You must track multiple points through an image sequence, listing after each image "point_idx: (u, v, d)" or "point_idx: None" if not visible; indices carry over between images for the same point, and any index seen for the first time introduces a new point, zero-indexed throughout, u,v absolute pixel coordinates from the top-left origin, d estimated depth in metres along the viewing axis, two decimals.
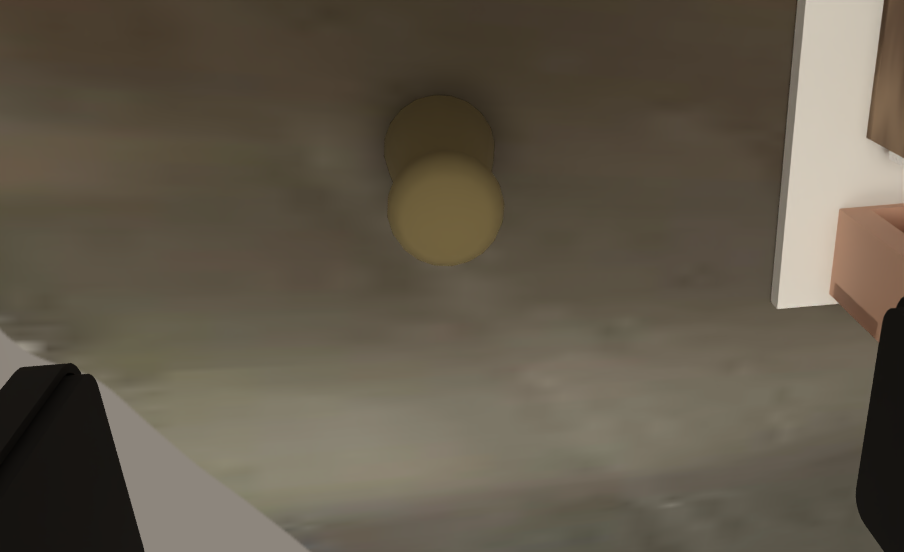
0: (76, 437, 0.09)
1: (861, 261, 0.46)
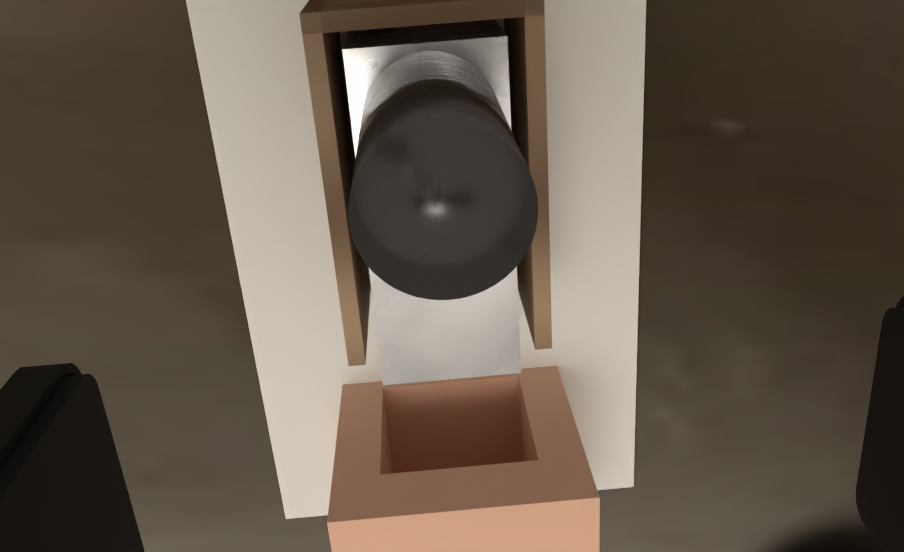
0: (76, 437, 0.09)
1: None
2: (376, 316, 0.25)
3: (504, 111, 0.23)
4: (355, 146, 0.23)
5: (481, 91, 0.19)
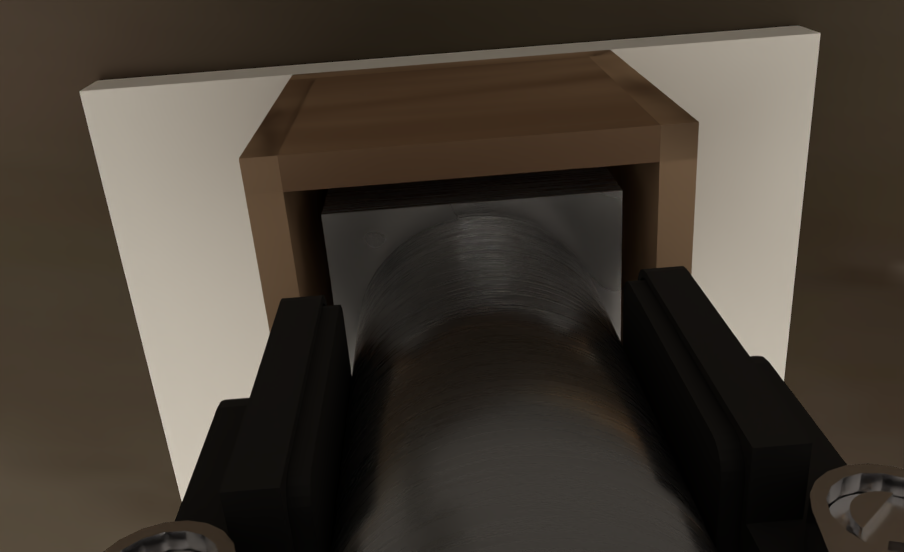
0: (340, 358, 0.10)
1: None
2: None
3: (610, 314, 0.13)
4: None
5: (598, 346, 0.09)
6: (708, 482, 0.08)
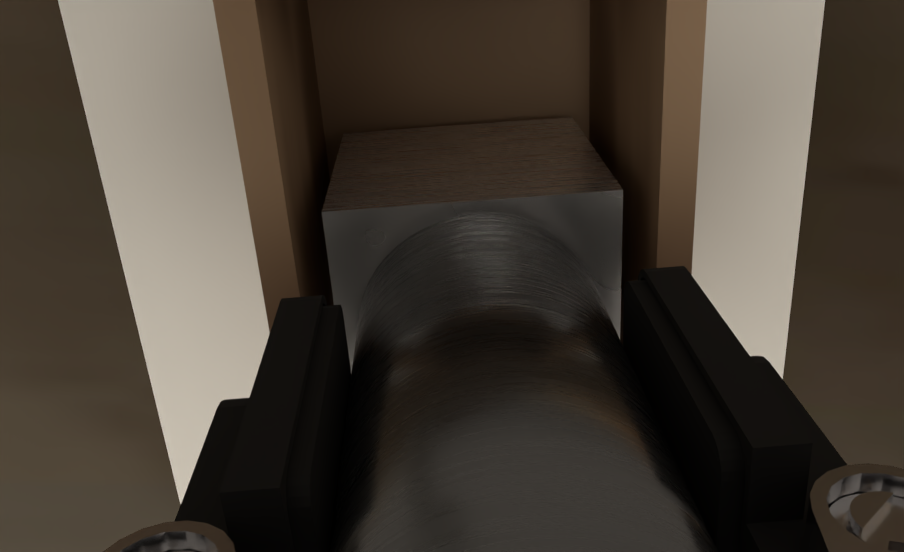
0: (340, 358, 0.10)
1: None
2: None
3: (609, 313, 0.13)
4: None
5: (598, 344, 0.09)
6: (708, 482, 0.08)
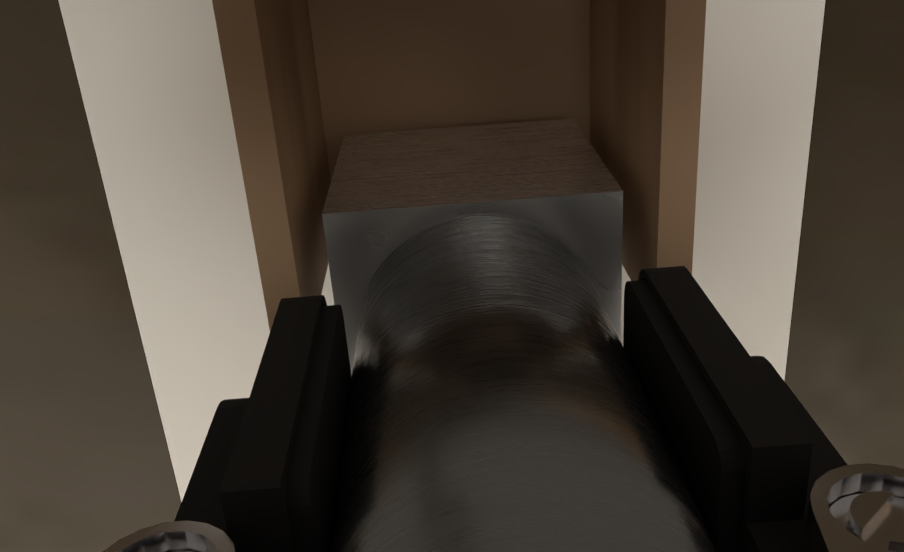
0: (339, 358, 0.10)
1: None
2: None
3: (610, 315, 0.13)
4: None
5: (598, 345, 0.09)
6: (709, 482, 0.08)
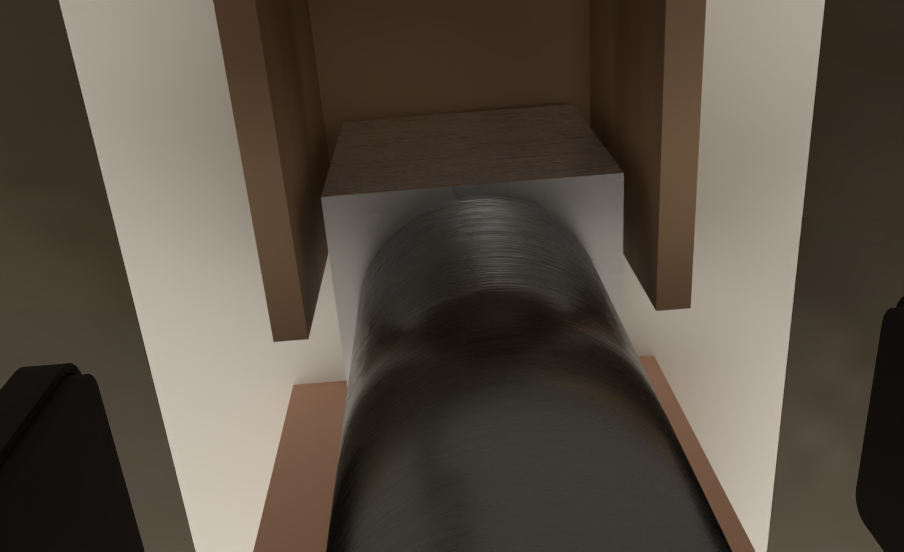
0: (76, 437, 0.09)
1: None
2: None
3: (611, 298, 0.13)
4: (345, 356, 0.13)
5: (599, 324, 0.09)
6: None
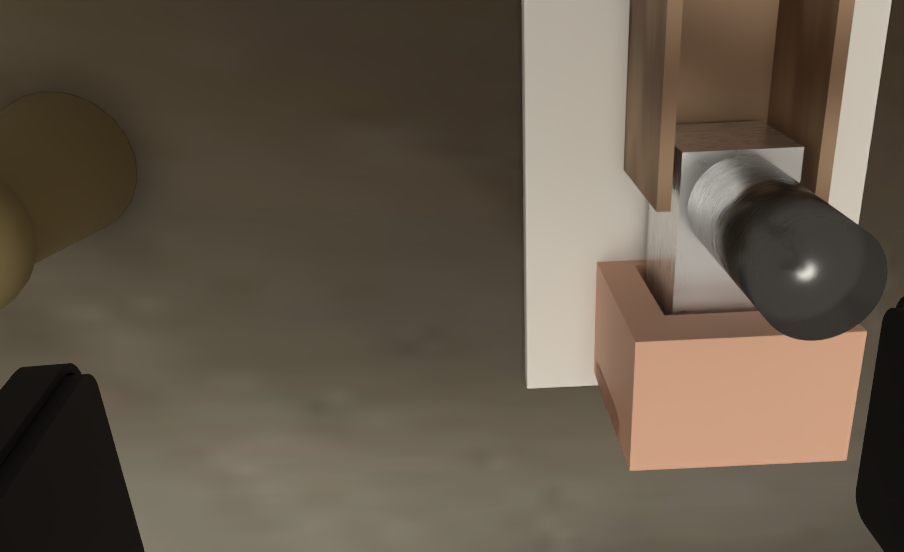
0: (76, 437, 0.09)
1: (609, 334, 0.34)
2: None
3: None
4: (679, 222, 0.30)
5: (812, 192, 0.27)
6: None
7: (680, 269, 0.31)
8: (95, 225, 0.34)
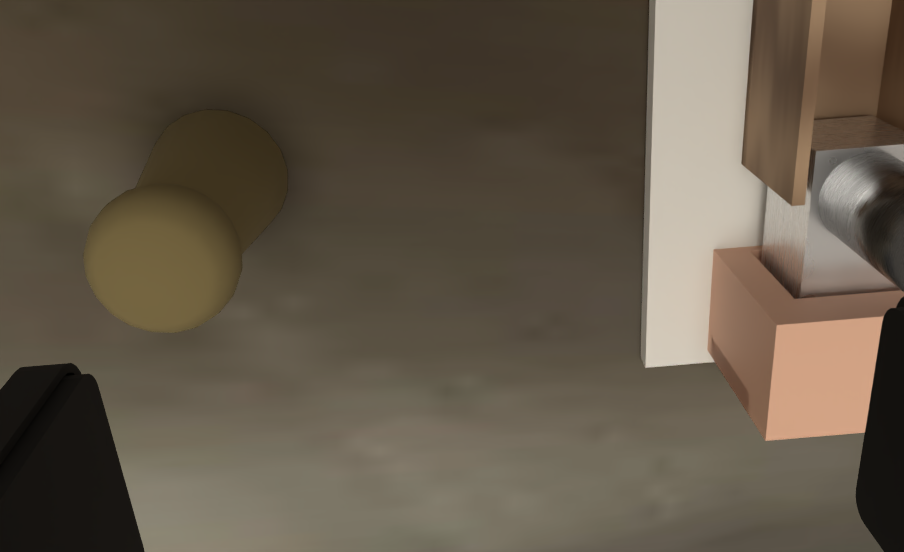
0: (76, 437, 0.09)
1: (733, 316, 0.37)
2: None
3: None
4: (809, 214, 0.33)
5: None
6: None
7: (809, 256, 0.34)
8: (260, 232, 0.36)
